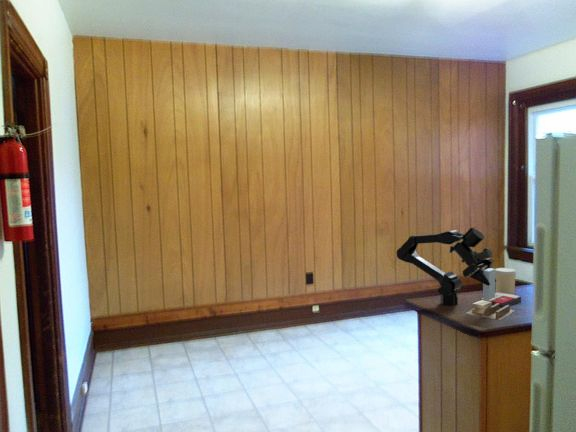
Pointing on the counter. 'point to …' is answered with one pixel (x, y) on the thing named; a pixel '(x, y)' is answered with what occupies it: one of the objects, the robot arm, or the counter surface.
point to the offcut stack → (481, 306)
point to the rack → (494, 312)
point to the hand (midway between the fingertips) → (492, 283)
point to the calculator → (504, 299)
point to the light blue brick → (490, 290)
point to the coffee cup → (505, 280)
